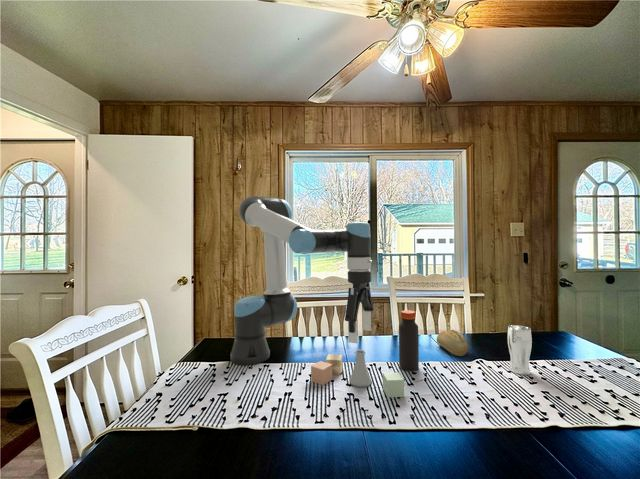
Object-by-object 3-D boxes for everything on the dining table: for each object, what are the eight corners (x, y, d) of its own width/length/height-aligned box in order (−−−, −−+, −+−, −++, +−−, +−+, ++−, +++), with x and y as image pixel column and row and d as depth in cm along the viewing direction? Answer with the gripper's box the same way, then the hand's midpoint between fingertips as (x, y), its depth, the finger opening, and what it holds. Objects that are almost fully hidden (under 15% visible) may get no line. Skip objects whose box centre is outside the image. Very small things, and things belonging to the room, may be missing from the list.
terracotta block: (311, 381, 98) (311, 366, 98) (320, 375, 102) (320, 360, 102) (323, 385, 95) (323, 369, 95) (332, 379, 99) (332, 364, 99)
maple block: (326, 373, 104) (326, 359, 104) (328, 367, 109) (328, 353, 109) (340, 375, 103) (340, 360, 103) (342, 368, 108) (342, 354, 108)
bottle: (401, 362, 112) (400, 308, 112) (420, 365, 109) (419, 310, 109) (397, 369, 106) (396, 312, 106) (417, 372, 103) (416, 314, 103)
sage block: (387, 397, 88) (387, 380, 88) (382, 389, 93) (382, 372, 93) (404, 396, 88) (404, 379, 88) (398, 388, 93) (398, 372, 93)
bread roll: (450, 343, 132) (450, 325, 132) (475, 356, 117) (475, 336, 117) (431, 345, 130) (430, 327, 130) (453, 359, 115) (453, 338, 115)
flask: (371, 388, 93) (371, 356, 93) (348, 386, 94) (347, 355, 94) (372, 378, 100) (371, 348, 100) (350, 376, 101) (350, 346, 101)
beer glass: (528, 368, 106) (527, 325, 106) (535, 376, 99) (534, 331, 99) (505, 365, 108) (505, 324, 108) (510, 374, 102) (510, 329, 101)
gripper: (357, 274, 84) (358, 350, 84) (381, 267, 107) (382, 327, 106) (332, 274, 88) (334, 346, 87) (360, 266, 110) (361, 324, 110)
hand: (360, 336), depth 97 cm, fingers open, 13 cm apart
